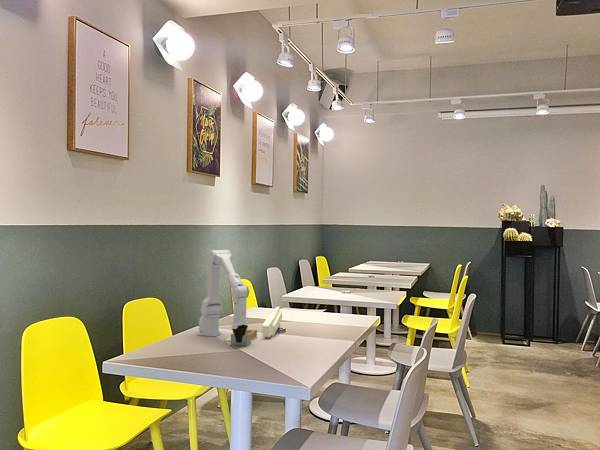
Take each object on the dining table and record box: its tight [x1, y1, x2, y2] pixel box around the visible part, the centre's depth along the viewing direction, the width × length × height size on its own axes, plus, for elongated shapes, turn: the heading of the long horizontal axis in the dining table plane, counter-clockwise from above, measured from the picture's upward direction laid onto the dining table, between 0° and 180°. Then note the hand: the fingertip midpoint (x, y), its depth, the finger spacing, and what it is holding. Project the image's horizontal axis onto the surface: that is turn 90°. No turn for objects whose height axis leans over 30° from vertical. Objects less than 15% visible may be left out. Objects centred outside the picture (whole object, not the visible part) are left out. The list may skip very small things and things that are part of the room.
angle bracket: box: [230, 333, 252, 347], centre depth 232 cm, size 8×5×5 cm, turn 75°
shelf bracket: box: [261, 306, 283, 338], centre depth 256 cm, size 6×25×13 cm, turn 168°
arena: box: [223, 329, 258, 343], centre depth 243 cm, size 12×12×4 cm
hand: (239, 341), depth 231 cm, fingers closed on angle bracket
